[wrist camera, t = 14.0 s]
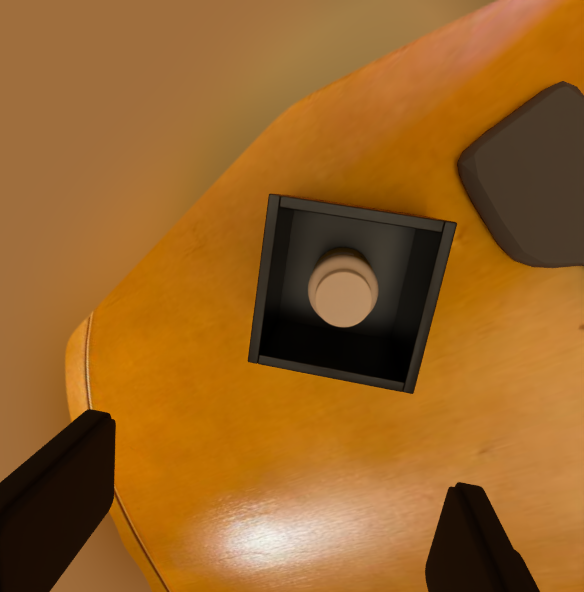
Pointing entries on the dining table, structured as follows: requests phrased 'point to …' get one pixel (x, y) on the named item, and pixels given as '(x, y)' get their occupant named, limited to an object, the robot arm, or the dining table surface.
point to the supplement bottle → (343, 287)
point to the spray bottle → (533, 179)
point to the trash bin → (389, 306)
